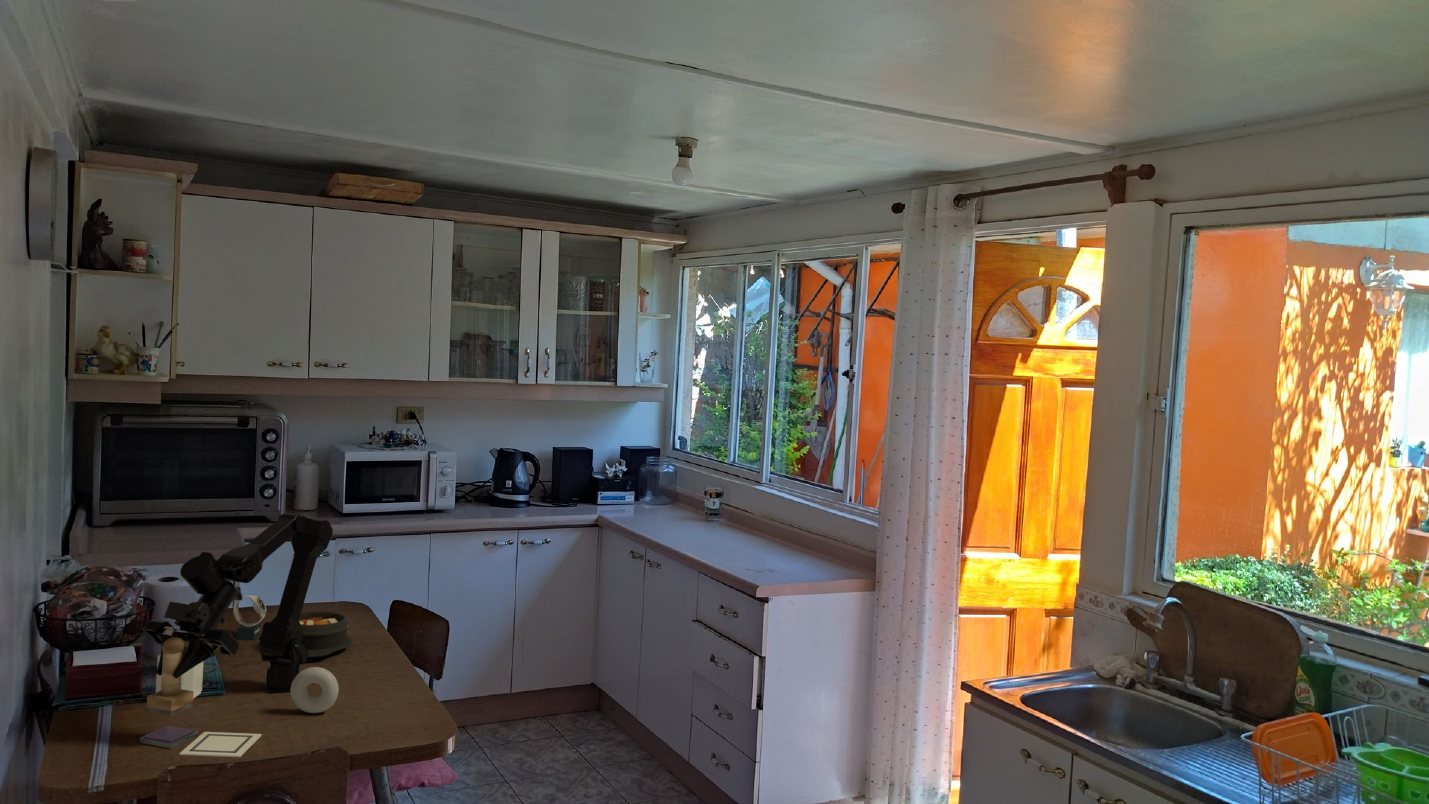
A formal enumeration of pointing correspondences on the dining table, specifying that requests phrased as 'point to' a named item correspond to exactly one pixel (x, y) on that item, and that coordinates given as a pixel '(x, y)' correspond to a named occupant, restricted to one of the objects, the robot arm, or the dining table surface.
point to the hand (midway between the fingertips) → (166, 675)
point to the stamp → (170, 683)
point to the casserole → (324, 632)
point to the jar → (186, 676)
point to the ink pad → (168, 737)
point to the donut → (309, 702)
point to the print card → (220, 744)
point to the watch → (247, 629)
